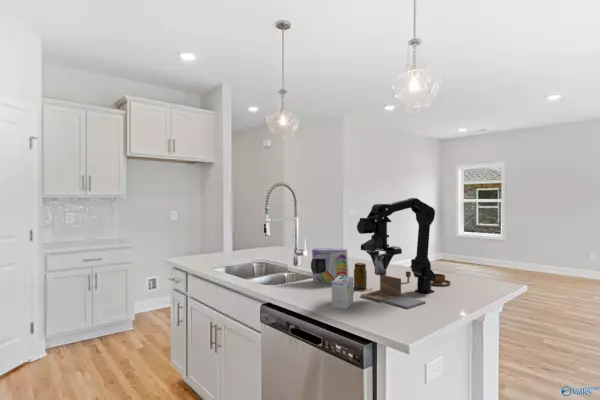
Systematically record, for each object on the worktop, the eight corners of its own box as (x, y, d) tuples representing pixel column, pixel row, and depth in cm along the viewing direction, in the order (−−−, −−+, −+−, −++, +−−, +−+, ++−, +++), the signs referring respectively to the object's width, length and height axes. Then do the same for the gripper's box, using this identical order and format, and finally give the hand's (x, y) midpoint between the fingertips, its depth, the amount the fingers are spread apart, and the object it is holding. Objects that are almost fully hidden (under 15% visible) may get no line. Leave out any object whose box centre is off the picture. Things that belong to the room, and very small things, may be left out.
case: (381, 291, 169) (381, 274, 169) (401, 296, 161) (401, 278, 161) (360, 296, 161) (360, 278, 161) (380, 302, 152) (380, 283, 152)
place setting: (443, 290, 174) (443, 277, 174) (404, 283, 187) (404, 272, 187) (455, 283, 187) (455, 271, 187) (417, 277, 200) (417, 267, 200)
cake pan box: (310, 282, 189) (310, 248, 189) (313, 280, 193) (313, 247, 193) (347, 285, 183) (347, 249, 182) (349, 282, 187) (348, 248, 187)
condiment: (361, 286, 180) (361, 262, 180) (372, 289, 173) (372, 264, 173) (349, 288, 177) (349, 263, 177) (360, 291, 169) (360, 266, 169)
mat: (401, 297, 160) (401, 295, 160) (425, 303, 151) (425, 301, 151) (383, 302, 153) (383, 300, 153) (407, 308, 143) (407, 306, 143)
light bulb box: (338, 300, 155) (338, 275, 155) (353, 302, 153) (353, 276, 153) (331, 307, 145) (331, 280, 145) (347, 309, 143) (347, 282, 143)
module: (379, 272, 163) (379, 252, 163) (388, 274, 159) (388, 254, 159) (372, 273, 160) (372, 253, 160) (381, 275, 156) (381, 255, 156)
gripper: (351, 232, 162) (352, 267, 162) (385, 235, 147) (385, 274, 147) (369, 230, 168) (369, 264, 168) (402, 233, 153) (402, 270, 154)
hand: (380, 268), depth 159 cm, fingers closed on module, 5 cm apart
